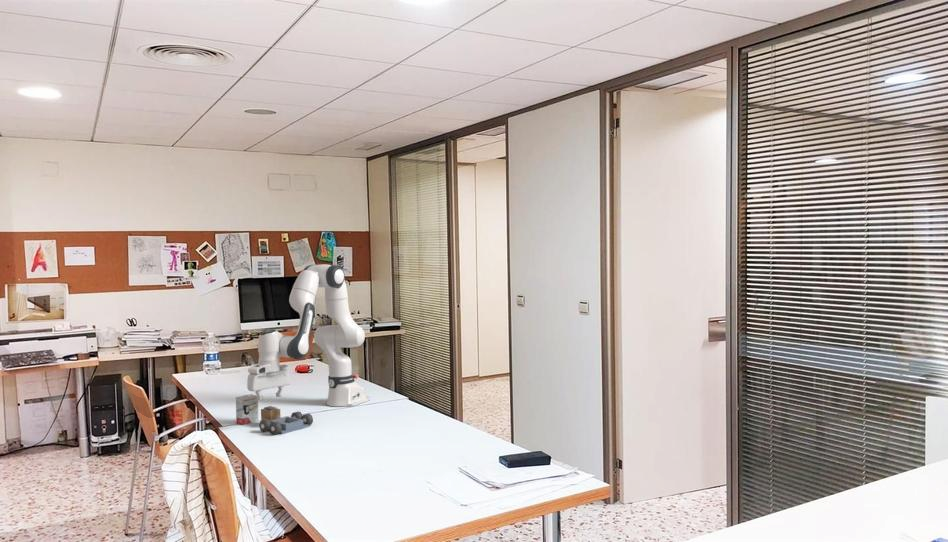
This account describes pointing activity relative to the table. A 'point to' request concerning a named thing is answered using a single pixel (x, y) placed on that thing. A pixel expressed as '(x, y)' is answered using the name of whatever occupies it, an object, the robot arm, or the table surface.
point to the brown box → (270, 413)
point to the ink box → (246, 409)
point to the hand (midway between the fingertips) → (269, 398)
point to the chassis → (286, 423)
